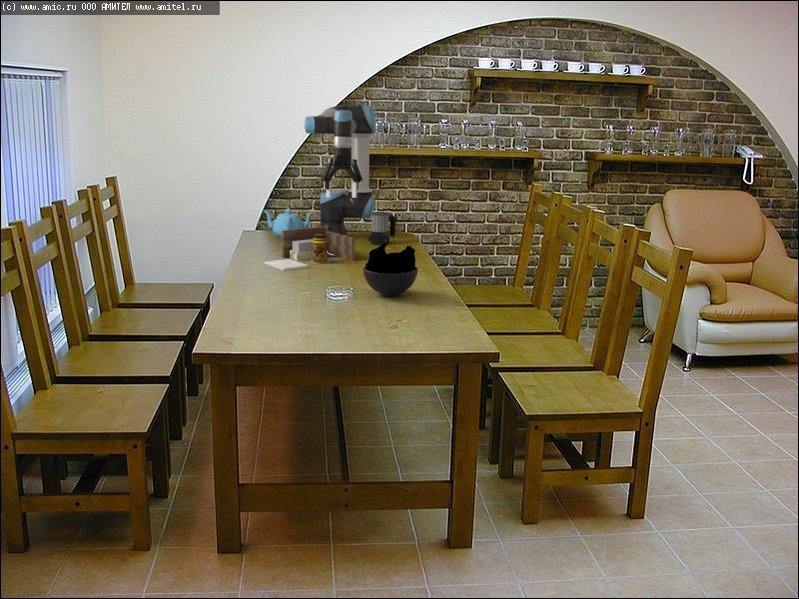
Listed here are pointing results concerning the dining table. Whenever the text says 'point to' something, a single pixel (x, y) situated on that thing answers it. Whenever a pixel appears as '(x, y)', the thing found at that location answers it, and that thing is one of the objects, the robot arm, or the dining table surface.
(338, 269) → the dining table surface
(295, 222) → the teapot
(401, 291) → the bowl of black rocks
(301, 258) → the block
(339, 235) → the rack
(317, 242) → the condiment
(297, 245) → the offcut top
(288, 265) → the pad
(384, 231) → the milk frother
